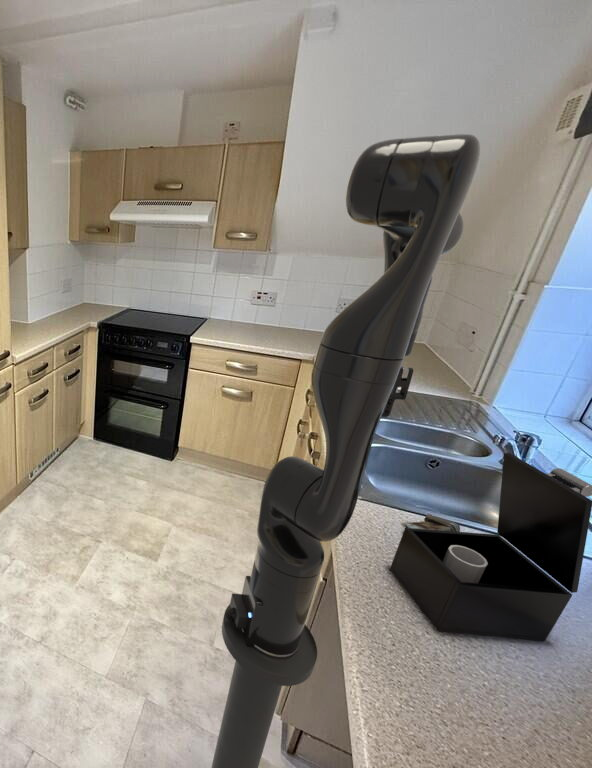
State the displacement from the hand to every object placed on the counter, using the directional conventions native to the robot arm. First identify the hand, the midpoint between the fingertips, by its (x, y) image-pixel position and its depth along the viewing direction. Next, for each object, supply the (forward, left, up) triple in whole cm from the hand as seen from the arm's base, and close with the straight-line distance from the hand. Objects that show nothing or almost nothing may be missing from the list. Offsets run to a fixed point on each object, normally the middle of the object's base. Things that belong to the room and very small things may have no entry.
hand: (368, 406), depth 82 cm
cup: (+13, -17, -29) cm, 36 cm away
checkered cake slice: (+19, -1, -30) cm, 36 cm away
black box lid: (+20, -18, -11) cm, 29 cm away
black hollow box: (+14, -18, -30) cm, 38 cm away
